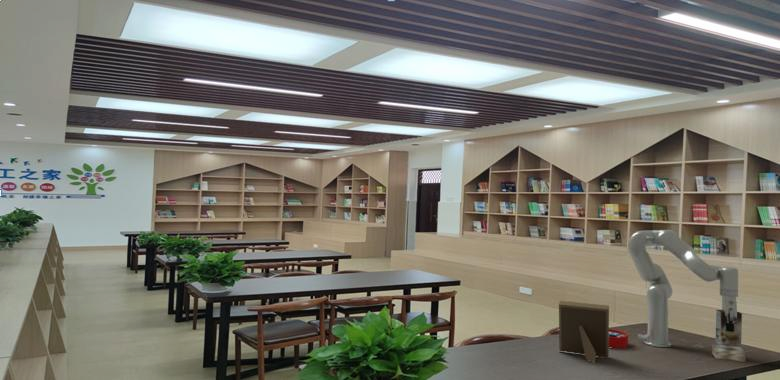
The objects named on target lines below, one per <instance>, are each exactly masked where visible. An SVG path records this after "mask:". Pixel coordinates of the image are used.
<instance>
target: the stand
mask: <svg viewBox="0 0 780 380" xmlns="http://www.w3.org/2000/svg"><path fill="white" fill-rule="evenodd" d="M711 353H712V355H713V356H714V358H715V359H719V360H720V359H721V360H727V361H736V362H745V363H746V358H747V356H746V352H745V350H743V349H742V347H735V346H724V345H719V344H711Z"/></svg>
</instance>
